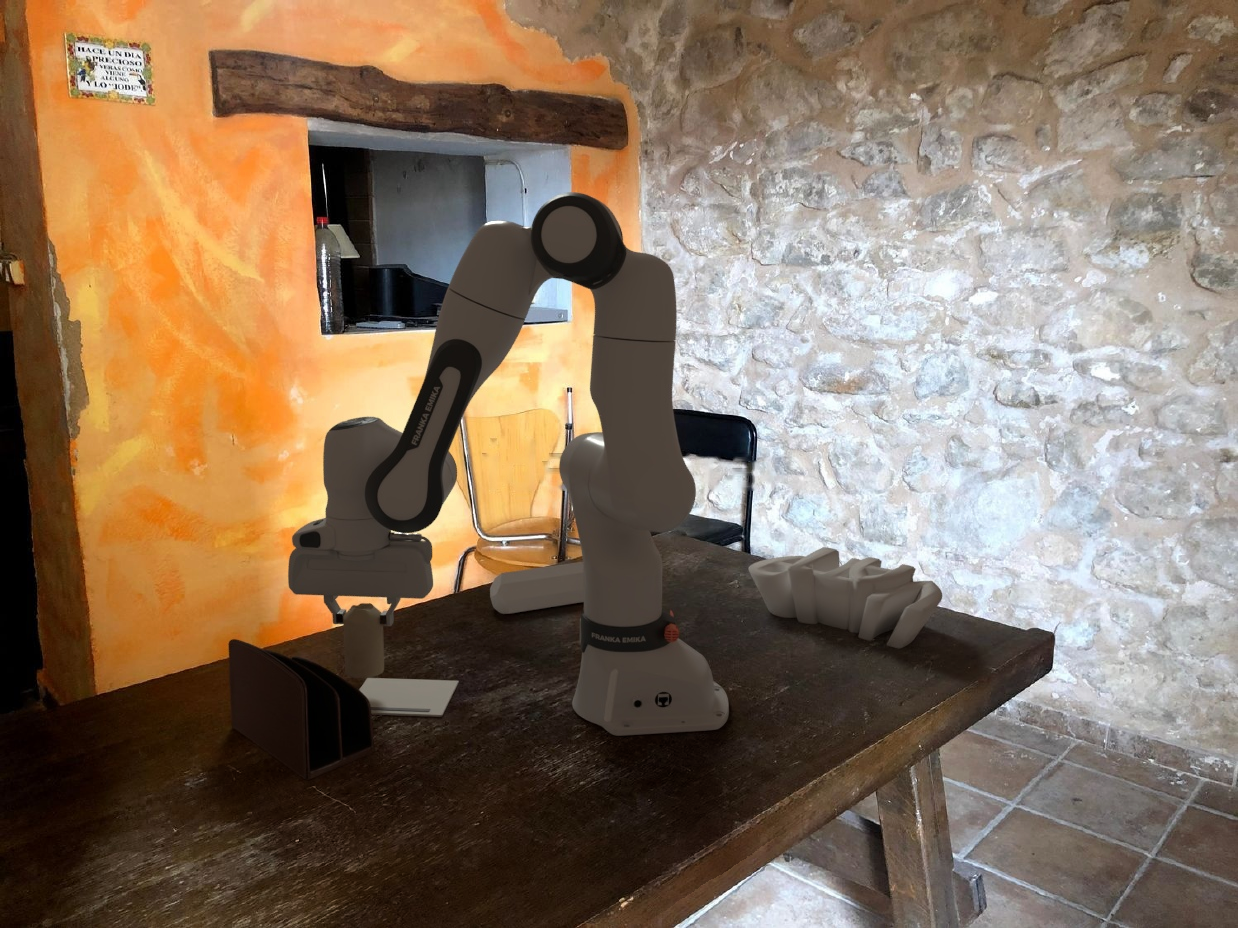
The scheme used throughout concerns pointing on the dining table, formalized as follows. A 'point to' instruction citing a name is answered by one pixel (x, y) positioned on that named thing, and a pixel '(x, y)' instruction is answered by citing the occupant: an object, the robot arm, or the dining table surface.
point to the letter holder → (297, 710)
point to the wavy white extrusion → (847, 594)
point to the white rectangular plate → (408, 696)
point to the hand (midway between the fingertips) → (363, 623)
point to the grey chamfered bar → (538, 588)
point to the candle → (363, 641)
